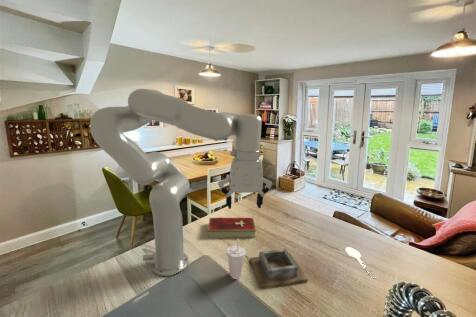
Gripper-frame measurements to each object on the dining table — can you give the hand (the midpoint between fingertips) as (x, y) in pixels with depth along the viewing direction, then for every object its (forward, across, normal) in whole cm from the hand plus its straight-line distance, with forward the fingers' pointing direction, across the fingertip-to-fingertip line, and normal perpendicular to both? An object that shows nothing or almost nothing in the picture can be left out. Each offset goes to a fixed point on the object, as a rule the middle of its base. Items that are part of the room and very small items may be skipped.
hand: (244, 206), depth 76 cm
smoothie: (+25, -2, -2) cm, 25 cm away
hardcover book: (+26, 0, +27) cm, 37 cm away
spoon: (+24, +46, 0) cm, 52 cm away
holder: (+24, +13, -1) cm, 28 cm away
